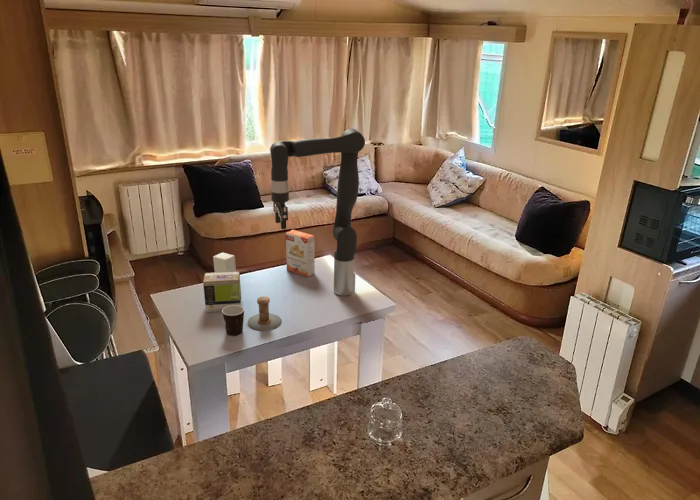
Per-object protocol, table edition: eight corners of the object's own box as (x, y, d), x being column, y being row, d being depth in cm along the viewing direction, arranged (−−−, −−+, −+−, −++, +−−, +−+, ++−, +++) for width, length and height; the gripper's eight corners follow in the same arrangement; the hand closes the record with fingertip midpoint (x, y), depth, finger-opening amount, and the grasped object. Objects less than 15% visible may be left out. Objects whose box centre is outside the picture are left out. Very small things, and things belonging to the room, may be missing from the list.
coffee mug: (226, 326, 222) (225, 304, 218) (247, 327, 222) (246, 305, 218) (219, 341, 211) (217, 318, 208) (241, 342, 211) (239, 319, 207)
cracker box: (286, 270, 275) (285, 232, 267) (293, 266, 280) (293, 228, 272) (307, 277, 268) (307, 238, 260) (315, 273, 272) (315, 234, 265)
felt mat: (276, 311, 235) (276, 310, 235) (285, 327, 223) (285, 326, 223) (244, 317, 229) (244, 316, 229) (252, 333, 218) (252, 332, 217)
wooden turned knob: (269, 316, 230) (268, 295, 226) (272, 323, 225) (271, 301, 221) (256, 319, 227) (255, 297, 224) (259, 325, 223) (258, 303, 219)
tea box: (241, 300, 244) (240, 270, 238) (240, 311, 235) (239, 280, 229) (207, 301, 242) (205, 271, 236) (205, 312, 232) (202, 281, 227)
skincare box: (237, 285, 258) (235, 255, 252) (227, 290, 252) (225, 260, 247) (224, 281, 262) (222, 251, 256) (214, 286, 257) (212, 255, 251)
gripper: (293, 193, 226) (294, 230, 232) (283, 185, 238) (284, 219, 244) (276, 195, 223) (277, 232, 229) (266, 186, 235) (268, 221, 241)
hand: (280, 225), depth 236 cm, fingers open, 8 cm apart
